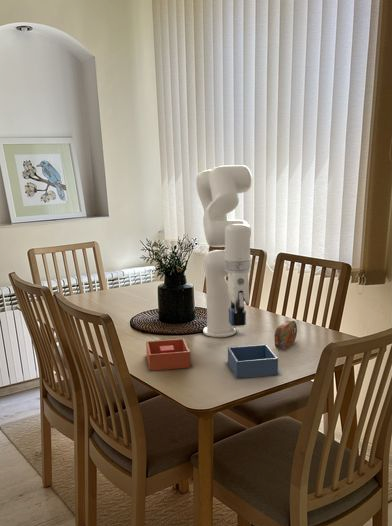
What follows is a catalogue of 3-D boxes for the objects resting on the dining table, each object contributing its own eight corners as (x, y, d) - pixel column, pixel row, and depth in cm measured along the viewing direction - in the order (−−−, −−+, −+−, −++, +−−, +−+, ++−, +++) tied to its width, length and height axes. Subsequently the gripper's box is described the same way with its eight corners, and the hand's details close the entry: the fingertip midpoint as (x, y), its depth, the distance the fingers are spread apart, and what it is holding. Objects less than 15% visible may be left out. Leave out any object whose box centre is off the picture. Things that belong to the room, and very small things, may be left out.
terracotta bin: (184, 353, 191) (184, 338, 190) (190, 367, 179) (189, 351, 177) (146, 356, 190) (146, 341, 188) (150, 370, 177) (149, 354, 175)
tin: (280, 353, 189) (281, 330, 186) (272, 351, 191) (272, 328, 188) (297, 340, 201) (298, 318, 198) (289, 338, 203) (290, 317, 200)
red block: (173, 357, 187) (172, 345, 185) (175, 362, 182) (174, 349, 181) (160, 358, 186) (159, 346, 184) (161, 363, 182) (160, 350, 180)
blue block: (242, 320, 175) (242, 307, 174) (245, 324, 171) (245, 311, 170) (228, 321, 175) (228, 308, 173) (231, 325, 171) (231, 312, 169)
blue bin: (266, 359, 184) (266, 344, 182) (277, 374, 172) (278, 358, 170) (227, 362, 182) (227, 347, 180) (236, 378, 170) (236, 361, 168)
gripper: (256, 270, 159) (255, 330, 165) (243, 259, 175) (242, 314, 181) (230, 272, 158) (231, 332, 165) (220, 261, 174) (220, 316, 180)
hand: (237, 322), depth 173 cm, fingers closed on blue block, 4 cm apart
